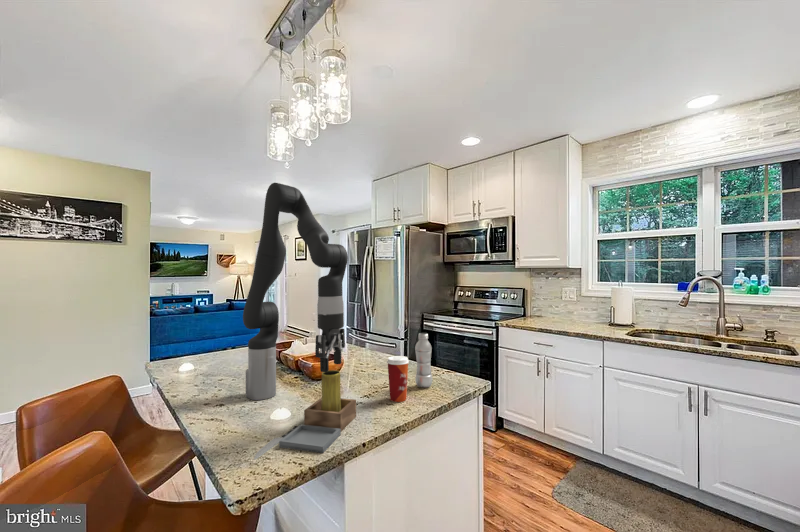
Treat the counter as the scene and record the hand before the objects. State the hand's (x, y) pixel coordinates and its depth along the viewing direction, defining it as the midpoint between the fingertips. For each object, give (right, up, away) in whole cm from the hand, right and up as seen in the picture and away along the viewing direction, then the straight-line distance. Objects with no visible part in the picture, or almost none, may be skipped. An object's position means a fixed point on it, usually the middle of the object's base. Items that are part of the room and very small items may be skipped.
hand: (331, 367), depth 101 cm
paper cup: (+19, -16, +18) cm, 31 cm away
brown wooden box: (0, -16, 0) cm, 16 cm away
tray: (-3, -15, -12) cm, 19 cm away
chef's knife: (-13, -16, -13) cm, 24 cm away
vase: (0, -16, 0) cm, 16 cm away
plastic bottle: (+29, -16, +31) cm, 45 cm away
